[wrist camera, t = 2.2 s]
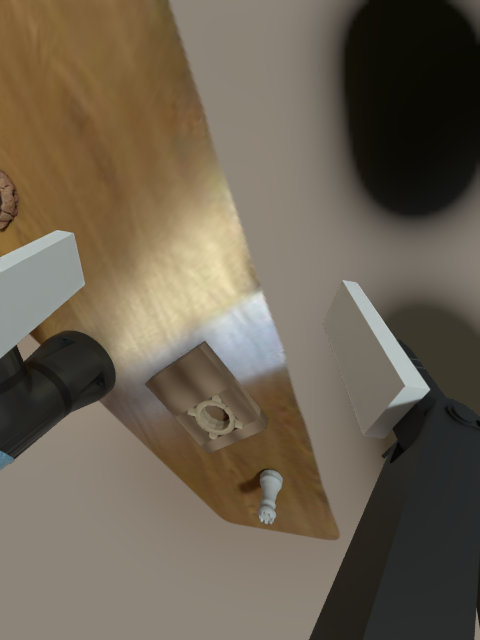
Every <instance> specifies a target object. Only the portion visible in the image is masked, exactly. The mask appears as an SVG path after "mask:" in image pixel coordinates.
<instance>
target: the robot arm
mask: <svg viewBox="0 0 480 640" xmlns="http://www.w3.org/2000/svg"><path fill="white" fill-rule="evenodd" d="M84 285H85V281H84V277H83V272H82V268H81V263H80V259H79V255H78V250H77V246H76V241H75V237H74V233H70V232H64V231H59V230H56V231H54V232H52V233H50V234H48V235H46V236H44V237H42V238H40V239H38V240H35V241H33V242H31V243H29V244H27V245H25V246H23V247H21V248H19V249H17V250H14V251H12V252H10V253H8V254H6V255H4V256H2V257H0V470H1V469H3V468H4V467H6V466H7V465H8V464H11V463H12V462H13V461H14V459H16V458H17V457H18V456H19V455H20V454H21V453H23V452H24V451H25V450H26V449H27V448H29V447H30V446H31V445H32V444H33V443H34V442H36V441H37V440H38V439H39V438H40V437H42V436H43V435H44V434H45V433H46V432H48V431H49V430H50V429H51V428H52V427H54V426H55V425H56V424H57V423H58V422H60V421H61V420H62V419H63V418H64V417H66V416H67V415H68V414H69V413H71V412H73V411H75V410H77V409H80V408H82V407H84V406H87V405H89V404H91V403H93V402H96V401H98V400H100V399H101V398H103V397H104V396H105V395H106V394H107V393H108V392H109V391H110V390H111V389H112V388H113V386H114V383H115V369H114V366H113V363H112V361H111V359H110V357H109V355H108V354H107V352H106V351H105V350H104V348H103V347H102V346H101V345H100V344H99V343H98V342H96V341H95V340H94V339H92V338H91V337H89V336H87V335H85V334H83V333H80V332H77V331H63V332H60V333H58V334H56V335H54V336H52V337H50V338H49V339H47V340H46V341H45V342H44V343H43V344H42V345H41V346H40V347H39V348H38V349H37V350H36V351H35V352H34V353H33V354H32V355H31V356H30V357H29V358H27V359H26V360H25V361H24V362H23V359H22V357H21V355H20V352H19V350H18V347H17V345H16V344H17V343H18V342H20V341H21V340H22V339H23V338H24V337H25V336H26V335H28V334H29V333H30V332H31V331H32V330H33V329H35V328H36V327H37V326H38V325H39V324H40V323H41V322H43V321H44V320H45V319H46V318H47V317H48V316H49V315H51V314H52V313H53V312H54V311H55V310H56V309H58V308H59V307H60V306H61V305H62V304H63V303H64V302H66V301H67V300H68V299H69V298H70V297H71V296H72V295H74V294H75V293H76V292H77V291H78V290H79V289H80V288H82V287H83V286H84ZM323 326H324V329H325V331H326V334H327V337H328V340H329V343H330V345H331V348H332V351H333V354H334V357H335V359H336V362H337V365H338V368H339V371H340V373H341V376H342V379H343V382H344V385H345V387H346V390H347V393H348V396H349V399H350V401H351V404H352V407H353V410H354V412H355V415H356V418H357V421H358V424H359V427H360V429H361V432H362V435H363V436H366V437H373V438H380V439H384V438H385V437H386V436H387V435H388V434H389V433H390V432H391V431H392V430H393V431H394V433H395V435H396V437H397V439H398V440H397V441H396V442H395V443H394V444H393V445H392V446H391V447H390V448H389V449H388V450H387V451H386V452H385V453H384V454H383V455H382V457H383V458H385V457H386V456H387V455H388V456H387V459H386V461H385V463H384V466H383V468H382V470H381V473H380V475H379V477H378V480H377V482H376V484H375V487H374V489H373V491H372V494H371V496H370V498H369V501H368V503H367V505H366V508H365V510H364V513H363V515H362V517H361V519H360V522H359V524H358V526H357V529H356V531H355V533H354V536H353V538H352V541H351V543H350V545H349V548H348V550H347V552H346V554H345V557H344V559H343V561H342V564H341V566H340V568H339V571H338V573H337V576H336V578H335V580H334V582H333V585H332V587H331V590H330V592H329V594H328V596H327V599H326V601H325V604H324V606H323V608H322V611H321V613H320V615H319V618H318V620H317V623H316V625H315V627H314V629H313V632H312V634H311V636H310V639H309V640H474V636H475V620H476V607H477V613H478V619H479V625H480V417H479V416H478V415H477V414H476V413H475V412H474V411H473V410H471V409H470V408H468V407H467V406H466V405H464V404H462V403H460V402H458V401H456V400H454V399H450V398H446V397H445V395H444V394H443V392H442V391H441V390H440V388H439V387H438V386H437V384H436V383H435V381H434V380H433V379H432V377H431V376H430V375H429V373H428V372H427V370H426V369H424V366H423V365H422V364H421V362H420V361H418V358H417V357H416V355H415V354H414V353H413V351H412V350H411V349H410V348H409V347H408V346H407V345H405V344H404V343H403V342H402V341H401V340H397V339H395V337H394V336H393V335H392V333H391V332H390V330H389V329H388V327H387V326H386V324H385V323H384V321H383V320H382V319H381V317H380V316H379V314H378V313H377V311H376V310H375V308H374V307H373V305H372V304H371V303H370V301H369V300H368V298H367V297H366V295H365V294H364V292H363V291H362V290H361V288H360V287H359V285H358V284H357V283H356V282H350V281H344V280H342V282H341V284H340V286H339V288H338V290H337V293H336V295H335V297H334V299H333V302H332V304H331V306H330V308H329V311H328V313H327V315H326V317H325V319H324V322H323Z"/></svg>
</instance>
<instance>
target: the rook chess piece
mask: <svg viewBox="0 0 480 640" xmlns="http://www.w3.org/2000/svg"><path fill="white" fill-rule="evenodd" d="M282 480H283V479H282V477H281V475H280V474H279V473H278V472H277V471H275V470H271V469H267V470H265V471H263V472H262V473H261V474H260V485H261V488H262V500H261V501H260V505H261V507H260V508H259V509H258V510H257V511H258V515H259V519H260V521H261V522H263V520H264V521H265V524H268V522H269V524H272V522H273V520H274V519H275V517H276V513H275V511H274V509H275V508H276V505H275V500H276V496H277V493H278V492H279V490H280V489H281V487H282Z"/></svg>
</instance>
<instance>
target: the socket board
mask: <svg viewBox="0 0 480 640" xmlns="http://www.w3.org/2000/svg"><path fill="white" fill-rule="evenodd" d="M146 386H147V387H148V388H149V389H150V390H151V391H152V392H153V393H154V394H155V396H156V397H157V398H158V399H159V400H160V401H161V402H162V403H163V405H164V406H165V407H166V408H167V409H168V410H169V411H170V412H171V413H172V415H173V416H174V417H175V418H176V419H177V420H178V421H179V422H180V423H181V425H182V426H183V427H184V428H185V429H186V430H187V431H188V432H189V434H190V435H191V436H192V437H193V438H194V439H195V440H196V441H197V442H198V444H199V445H200V446H201V447H202V448H203V449H204V450H205V451H206V453H207V454H209V453H211V452H213V451H216V450H218V449H221V448H223V447H225V446H228V445H230V444H232V443H235V442H237V441H239V440H242V439H244V438H246V437H249V436H251V435H253V434H256V433H258V432H261V431H263V430H265V429H267V424H268V417H267V416H266V415H265V414H264V412H263V411H262V410H261V409H260V407H259V406H258V405H257V404H256V403H255V401H254V400H253V399H252V398H251V396H250V395H249V394H248V393H247V392H246V390H245V389H244V388H243V387H242V385H241V384H240V383H239V382H238V381H237V379H236V378H235V377H234V376H233V374H232V373H231V372H230V371H229V370H228V368H227V367H226V366H225V365H224V363H223V362H222V361H221V360H220V358H219V357H218V356H217V355H216V354H215V352H214V351H213V350H212V349H211V347H210V346H209V345H208V344H207V343H206V341H204V342H203V343H201V344H200V345H199V346H197V347H196V348H194V349H193V350H191V351H190V352H188V353H187V354H185V355H184V356H182V357H181V358H179V359H178V360H176V361H175V362H173V363H172V364H170V365H169V366H167V367H166V368H165V369H163V370H162V371H160V372H159V373H157V374H156V375H154V376H153V377H152V378H151V379H150V380H149V381H148V382H147V383H146ZM208 405H212V406H218V407H220V408H222V409H224V410H225V412H226V413H227V414H228V415H229V419H228V420H226V421H221V420H216V419H214V418H212V417H211V416H210V415H209V414H208V413H207V412H206V409H205V407H206V406H208Z"/></svg>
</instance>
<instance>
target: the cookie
mask: <svg viewBox="0 0 480 640" xmlns="http://www.w3.org/2000/svg"><path fill="white" fill-rule="evenodd" d="M18 201H19V197H18V195H17V192H16V187H15V186H14V184H13V182H12V181H11V179H10V178H9V177H8V176H7V174H5V173H4V172H3V171H1V170H0V229H2V228H4V227H6V226H7V225H8V223H9V222H10V220H14V217H15V216H17V214H18V210H17V208H16V207H17V206H18Z"/></svg>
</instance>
